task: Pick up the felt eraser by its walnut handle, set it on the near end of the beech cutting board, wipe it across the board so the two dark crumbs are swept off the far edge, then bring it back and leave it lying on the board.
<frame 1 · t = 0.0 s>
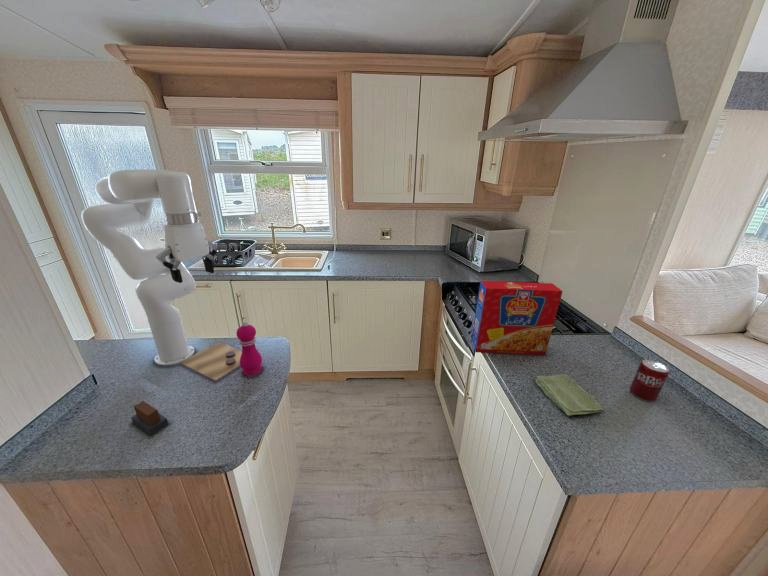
hand: (194, 276, 91), 37 cm above the worktop, tool pointing down, fingers open, 9 cm apart
cutting board: (217, 361, 113), on the worktop
pasta box: (506, 348, 127), on the worktop
pepper mill: (252, 371, 108), on the worktop
crumb b: (230, 355, 115), point 1 cm above the worktop, touching cutting board
eraser: (150, 423, 86), on the worktop
washcloth: (565, 397, 101), on the worktop
soda can: (642, 395, 103), on the worktop
crumb a: (230, 362, 111), point 1 cm above the worktop, touching cutting board
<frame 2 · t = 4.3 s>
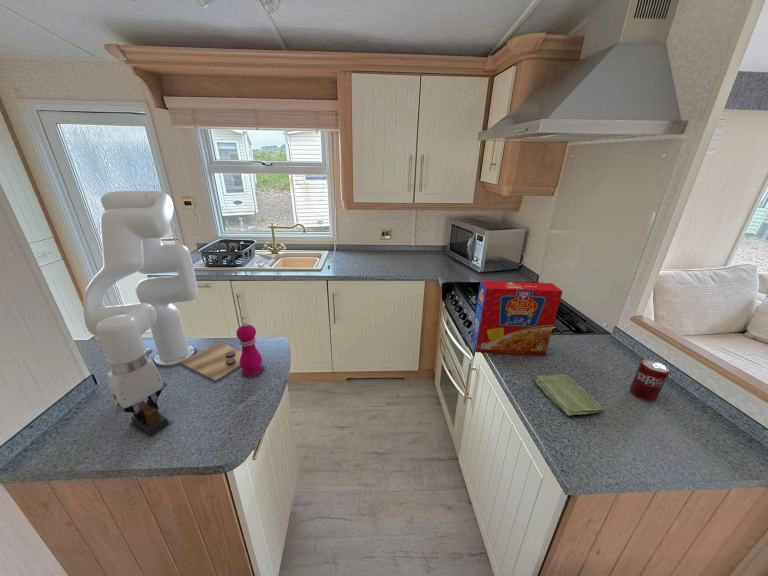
hand: (148, 416, 85), 3 cm above the worktop, tool pointing down, fingers closed on eraser, 2 cm apart
eraser: (150, 423, 86), on the worktop, touching gripper
everything else where it was.
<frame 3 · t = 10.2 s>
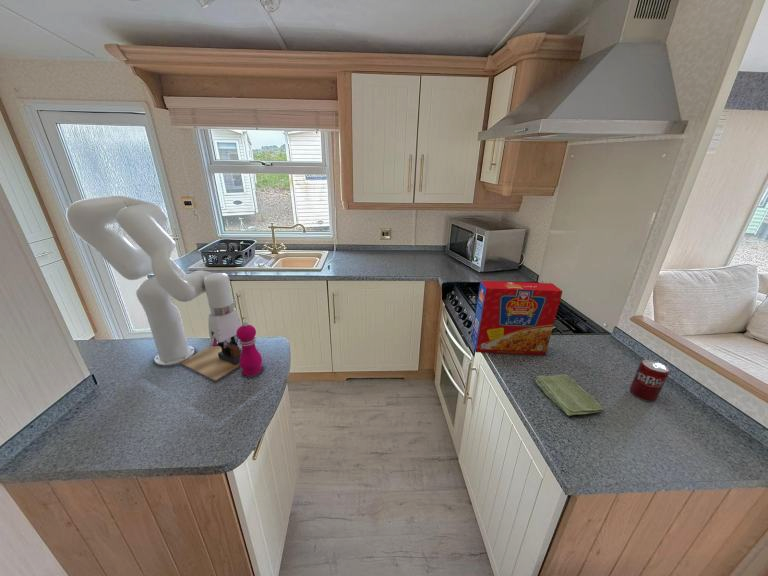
hand: (231, 352, 113), 3 cm above the worktop, tool pointing down, fingers closed on eraser, 2 cm apart
crumb b: (236, 351, 118), point 1 cm above the worktop
eraser: (232, 358, 114), point 1 cm above the worktop, touching gripper
crumb a: (244, 354, 116), point 1 cm above the worktop
everything else where it was.
when the fingers open (3 cm above the worktop, at t = 15.8 s): eraser stays where it is, resting on cutting board.
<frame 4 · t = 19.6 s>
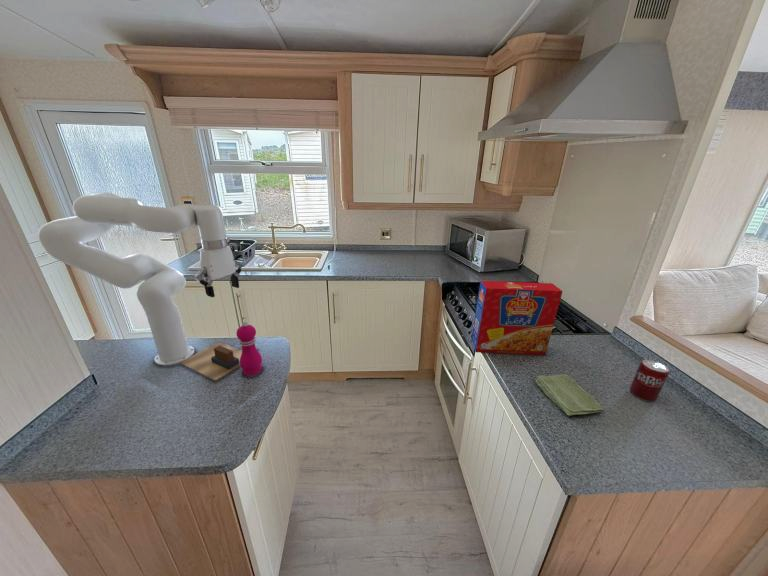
hand: (223, 291, 107), 26 cm above the worktop, tool pointing down, fingers open, 9 cm apart
crumb b: (243, 349, 121), on the worktop
eraser: (225, 362, 111), point 1 cm above the worktop, touching cutting board
crumb a: (252, 352, 119), on the worktop
everything else where it was.
at the end: crumb a inside the target area on the worktop beside the cutting board (8.7 cm from its centre), on the worktop; crumb b inside the target area on the worktop beside the cutting board (6.7 cm from its centre), on the worktop; eraser inside the target area on the cutting board (2.4 cm from its centre), point 0.8 cm above the cutting board's base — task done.
